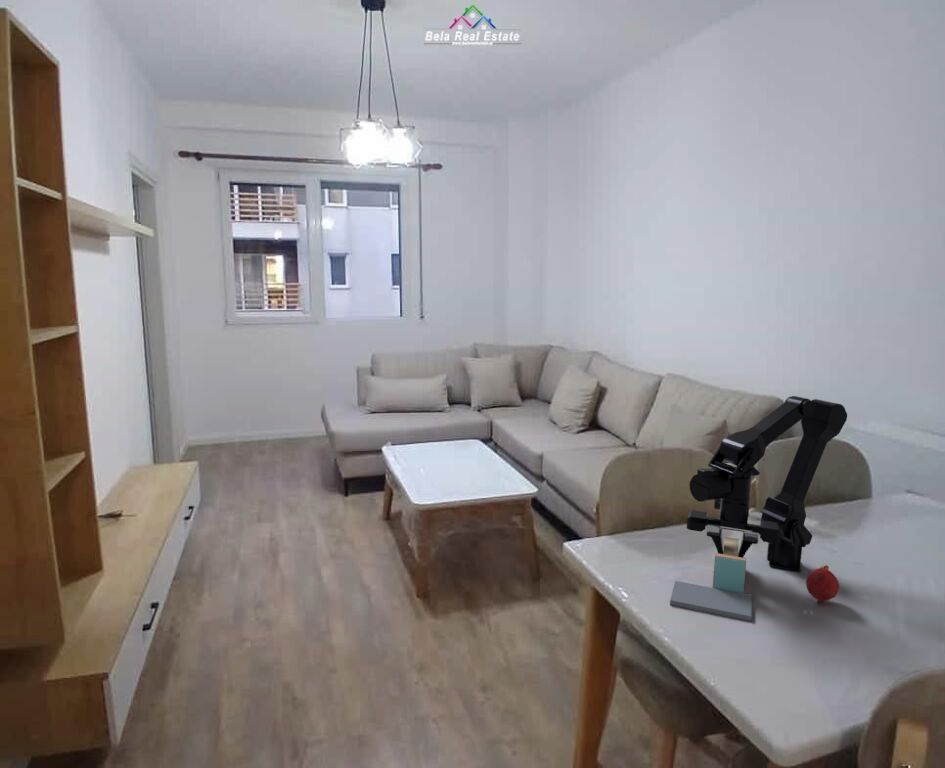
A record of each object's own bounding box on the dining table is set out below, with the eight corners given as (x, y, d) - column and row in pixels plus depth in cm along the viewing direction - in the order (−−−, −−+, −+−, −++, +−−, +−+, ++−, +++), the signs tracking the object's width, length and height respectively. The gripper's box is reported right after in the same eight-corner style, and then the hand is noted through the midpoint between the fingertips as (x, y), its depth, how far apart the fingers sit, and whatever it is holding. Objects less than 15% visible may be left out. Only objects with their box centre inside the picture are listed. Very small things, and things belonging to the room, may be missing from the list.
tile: (743, 594, 131) (746, 558, 130) (743, 597, 130) (746, 561, 128) (712, 588, 134) (715, 553, 132) (712, 591, 132) (714, 556, 131)
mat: (751, 599, 129) (751, 595, 129) (750, 621, 121) (751, 616, 121) (675, 585, 135) (675, 580, 135) (670, 604, 127) (670, 600, 127)
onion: (825, 611, 124) (829, 574, 123) (798, 598, 129) (802, 562, 128) (843, 604, 127) (847, 567, 126) (816, 592, 132) (820, 556, 131)
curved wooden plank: (736, 580, 133) (738, 560, 132) (721, 577, 134) (722, 557, 133) (737, 557, 144) (738, 539, 143) (723, 555, 145) (724, 536, 144)
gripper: (781, 490, 140) (775, 556, 142) (693, 478, 147) (689, 541, 150) (783, 506, 130) (777, 577, 132) (688, 493, 137) (684, 560, 140)
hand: (729, 562), depth 139 cm, fingers closed on curved wooden plank, 3 cm apart
